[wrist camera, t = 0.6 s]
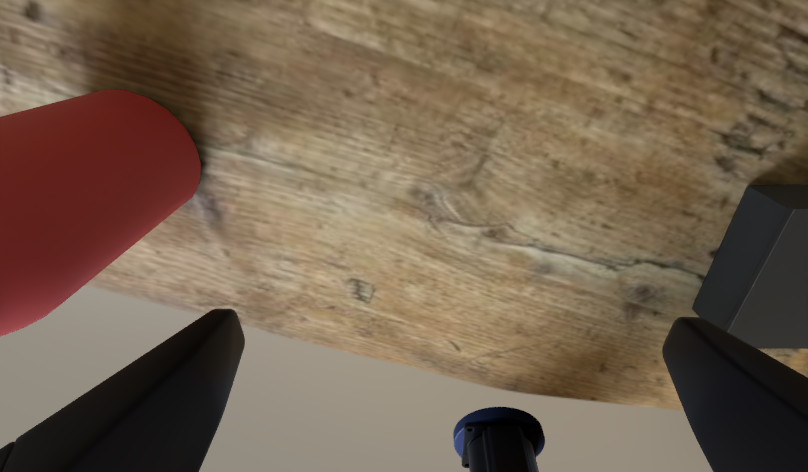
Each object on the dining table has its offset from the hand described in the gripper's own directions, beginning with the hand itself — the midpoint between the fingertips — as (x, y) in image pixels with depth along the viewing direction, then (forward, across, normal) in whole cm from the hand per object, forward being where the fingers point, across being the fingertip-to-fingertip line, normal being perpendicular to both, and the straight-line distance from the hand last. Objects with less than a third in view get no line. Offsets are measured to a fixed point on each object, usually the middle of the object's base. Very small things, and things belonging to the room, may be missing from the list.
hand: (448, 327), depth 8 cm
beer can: (+14, +16, +1) cm, 21 cm away
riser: (+14, -21, +7) cm, 26 cm away
